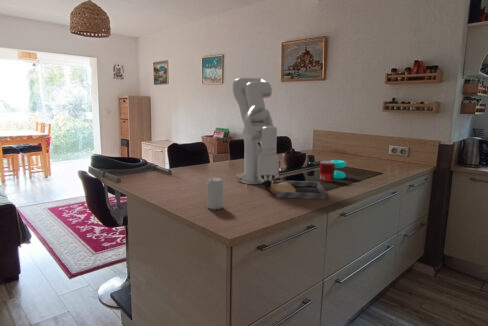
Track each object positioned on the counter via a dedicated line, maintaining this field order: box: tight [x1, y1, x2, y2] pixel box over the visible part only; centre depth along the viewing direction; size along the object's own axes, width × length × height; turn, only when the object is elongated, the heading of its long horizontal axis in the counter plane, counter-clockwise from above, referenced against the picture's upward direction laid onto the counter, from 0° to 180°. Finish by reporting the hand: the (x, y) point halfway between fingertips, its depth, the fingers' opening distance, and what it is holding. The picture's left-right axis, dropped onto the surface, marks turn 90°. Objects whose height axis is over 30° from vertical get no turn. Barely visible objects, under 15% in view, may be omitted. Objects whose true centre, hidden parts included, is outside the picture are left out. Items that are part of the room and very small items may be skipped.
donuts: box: [330, 159, 347, 180], centre depth 195 cm, size 10×10×10 cm
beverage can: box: [206, 177, 224, 211], centre depth 133 cm, size 6×6×12 cm
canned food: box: [319, 160, 336, 183], centre depth 186 cm, size 8×8×11 cm
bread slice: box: [268, 180, 297, 195], centre depth 162 cm, size 18×18×4 cm
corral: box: [274, 179, 329, 200], centre depth 162 cm, size 23×24×2 cm
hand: (267, 188), depth 162 cm, fingers closed
